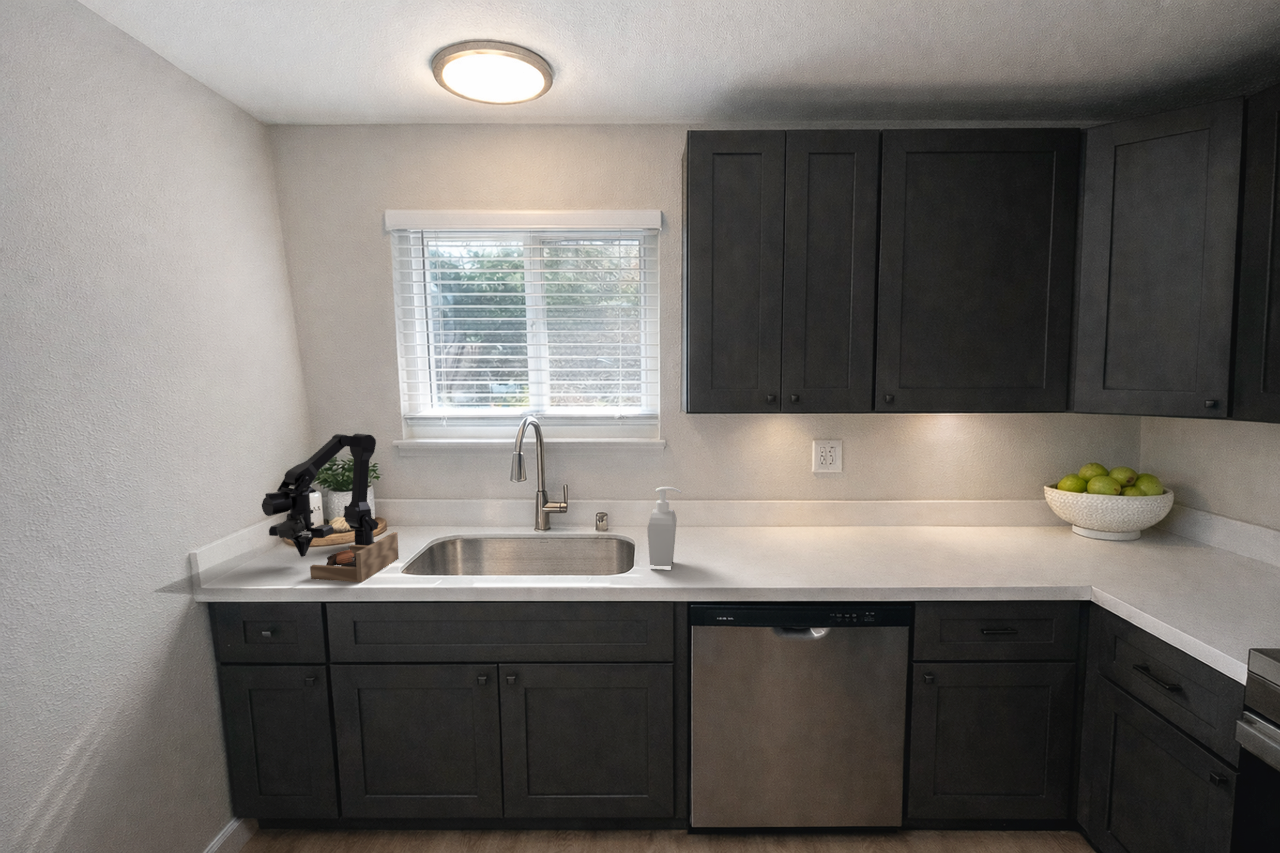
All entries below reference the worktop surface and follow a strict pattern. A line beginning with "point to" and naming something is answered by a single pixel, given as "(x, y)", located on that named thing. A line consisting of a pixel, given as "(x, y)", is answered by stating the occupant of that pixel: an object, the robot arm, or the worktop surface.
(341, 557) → the pottery mug
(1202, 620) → the worktop surface
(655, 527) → the soap bottle
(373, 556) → the walnut bay
